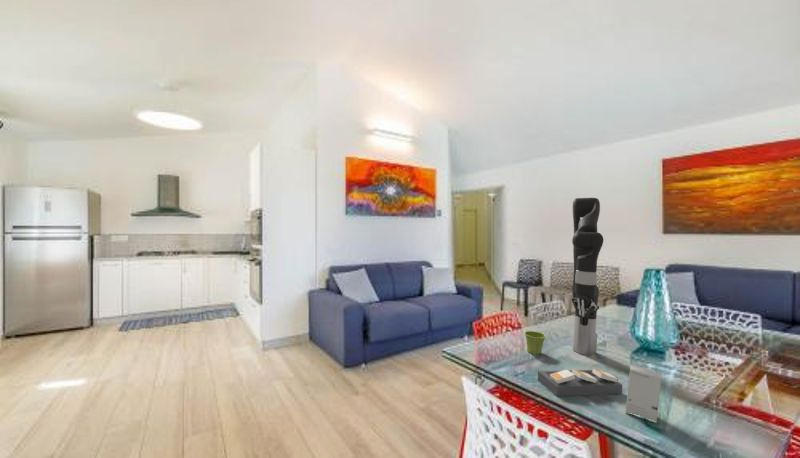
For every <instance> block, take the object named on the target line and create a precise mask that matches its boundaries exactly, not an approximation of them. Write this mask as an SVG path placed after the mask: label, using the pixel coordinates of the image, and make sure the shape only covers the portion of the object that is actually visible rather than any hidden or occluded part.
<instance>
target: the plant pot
mask: <svg viewBox="0 0 800 458" xmlns="http://www.w3.org/2000/svg"><path fill="white" fill-rule="evenodd" d="M524 335H525V338H526V339H525V340H526V351H527V352H528V353H531V354H533V355H539V354H542V350H543V346H544V341H545V339H546V337H547V335H546V334H545V333H543V332H539V331H534V330H527V331H525V332H524Z"/></svg>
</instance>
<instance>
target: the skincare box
mask: <svg viewBox="0 0 800 458" xmlns="http://www.w3.org/2000/svg"><path fill="white" fill-rule="evenodd" d="M661 385H662V372H659V371H656V370H652V369H650V368H646V367H642V366H638V365H635V364H630V368H629V376H628V386H627V395H626V406H625V407H626V408H625V413H632V414H636V415H640V416H643V417H645V418H648V419H651V420H654V421H656V423H657V422H658V421H657V420H658V413H659V403H660V395H661V394H660V393H661Z"/></svg>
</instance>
